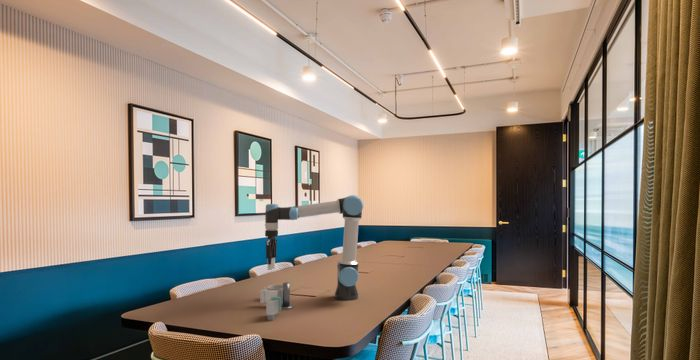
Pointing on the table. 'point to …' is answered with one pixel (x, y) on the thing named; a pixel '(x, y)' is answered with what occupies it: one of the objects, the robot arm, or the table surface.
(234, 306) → the table surface
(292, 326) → the table surface
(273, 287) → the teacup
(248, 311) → the table surface
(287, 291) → the riser post
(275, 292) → the elbow
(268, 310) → the duct stub
